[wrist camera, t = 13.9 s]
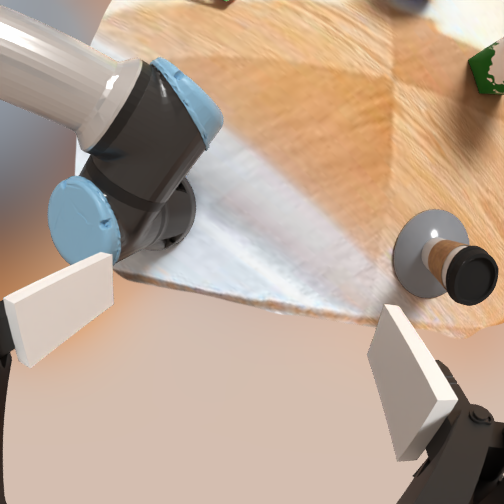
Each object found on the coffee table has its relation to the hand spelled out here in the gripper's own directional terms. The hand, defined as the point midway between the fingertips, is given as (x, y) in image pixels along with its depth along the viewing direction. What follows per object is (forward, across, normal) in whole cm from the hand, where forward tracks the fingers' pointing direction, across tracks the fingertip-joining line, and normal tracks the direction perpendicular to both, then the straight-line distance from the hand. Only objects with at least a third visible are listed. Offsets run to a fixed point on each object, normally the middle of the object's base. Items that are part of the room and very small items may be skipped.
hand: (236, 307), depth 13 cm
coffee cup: (+36, +28, -2) cm, 46 cm away
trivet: (+37, +28, -2) cm, 46 cm away
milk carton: (+37, +36, +35) cm, 62 cm away
